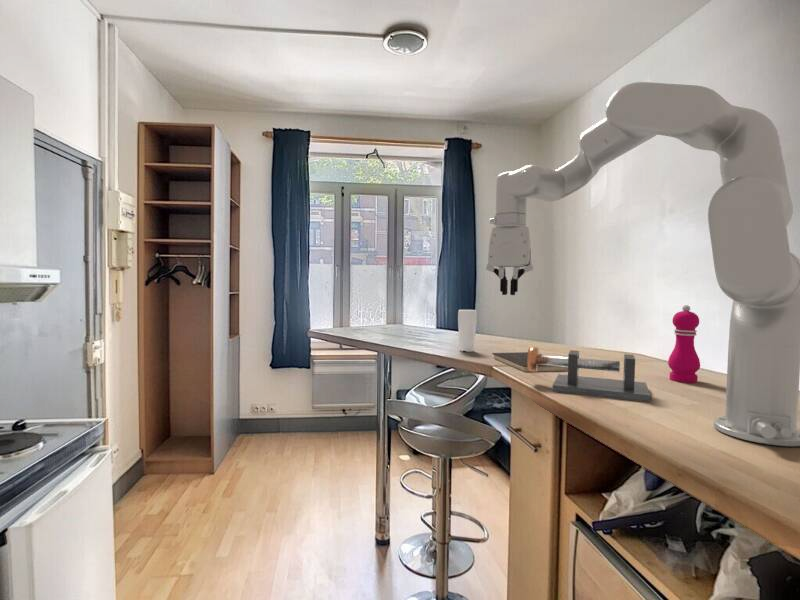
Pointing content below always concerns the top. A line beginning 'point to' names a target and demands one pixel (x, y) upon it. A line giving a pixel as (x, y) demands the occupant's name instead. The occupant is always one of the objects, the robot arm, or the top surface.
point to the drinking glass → (467, 329)
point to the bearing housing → (602, 382)
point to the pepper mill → (684, 347)
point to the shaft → (537, 359)
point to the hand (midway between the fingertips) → (508, 294)
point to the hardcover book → (523, 361)
